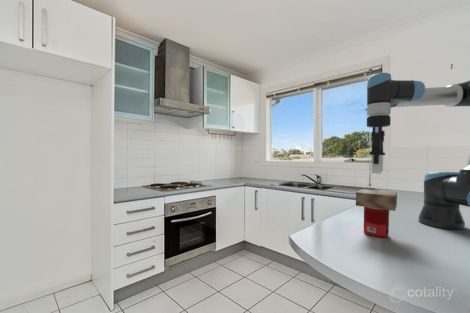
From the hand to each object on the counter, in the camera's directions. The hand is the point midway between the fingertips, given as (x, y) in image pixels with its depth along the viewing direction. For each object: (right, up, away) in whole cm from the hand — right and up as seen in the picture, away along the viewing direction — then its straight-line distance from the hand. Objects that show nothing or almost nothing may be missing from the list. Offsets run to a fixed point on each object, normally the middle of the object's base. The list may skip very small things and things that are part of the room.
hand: (377, 172), depth 84 cm
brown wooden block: (0, -13, 0) cm, 13 cm away
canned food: (-1, -24, 0) cm, 24 cm away
